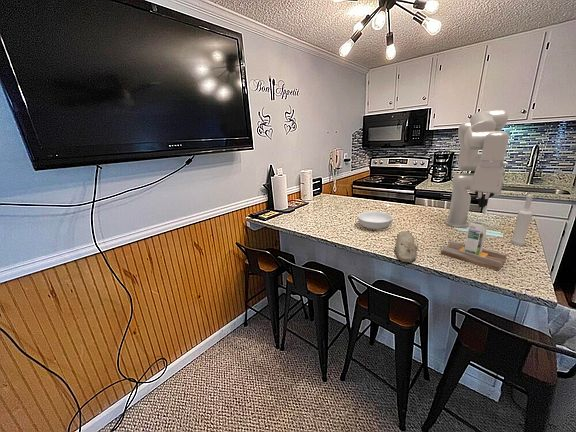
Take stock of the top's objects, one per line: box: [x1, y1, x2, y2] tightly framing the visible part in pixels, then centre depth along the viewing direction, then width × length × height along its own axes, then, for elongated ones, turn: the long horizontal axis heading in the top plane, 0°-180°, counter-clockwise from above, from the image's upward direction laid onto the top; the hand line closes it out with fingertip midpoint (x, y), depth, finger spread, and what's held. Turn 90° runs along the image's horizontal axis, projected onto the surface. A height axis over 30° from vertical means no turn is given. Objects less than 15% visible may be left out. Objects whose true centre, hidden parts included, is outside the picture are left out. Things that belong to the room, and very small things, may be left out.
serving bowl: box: [357, 210, 394, 230], centre depth 156 cm, size 21×21×7 cm
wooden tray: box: [440, 240, 508, 272], centre depth 114 cm, size 12×22×4 cm, turn 40°
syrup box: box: [464, 220, 489, 255], centre depth 111 cm, size 6×6×14 cm
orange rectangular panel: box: [460, 247, 488, 257], centre depth 113 cm, size 7×10×1 cm
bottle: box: [510, 194, 534, 246], centre depth 120 cm, size 5×5×25 cm
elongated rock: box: [394, 230, 419, 263], centre depth 126 cm, size 35×5×10 cm
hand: (481, 206), depth 107 cm, fingers closed
